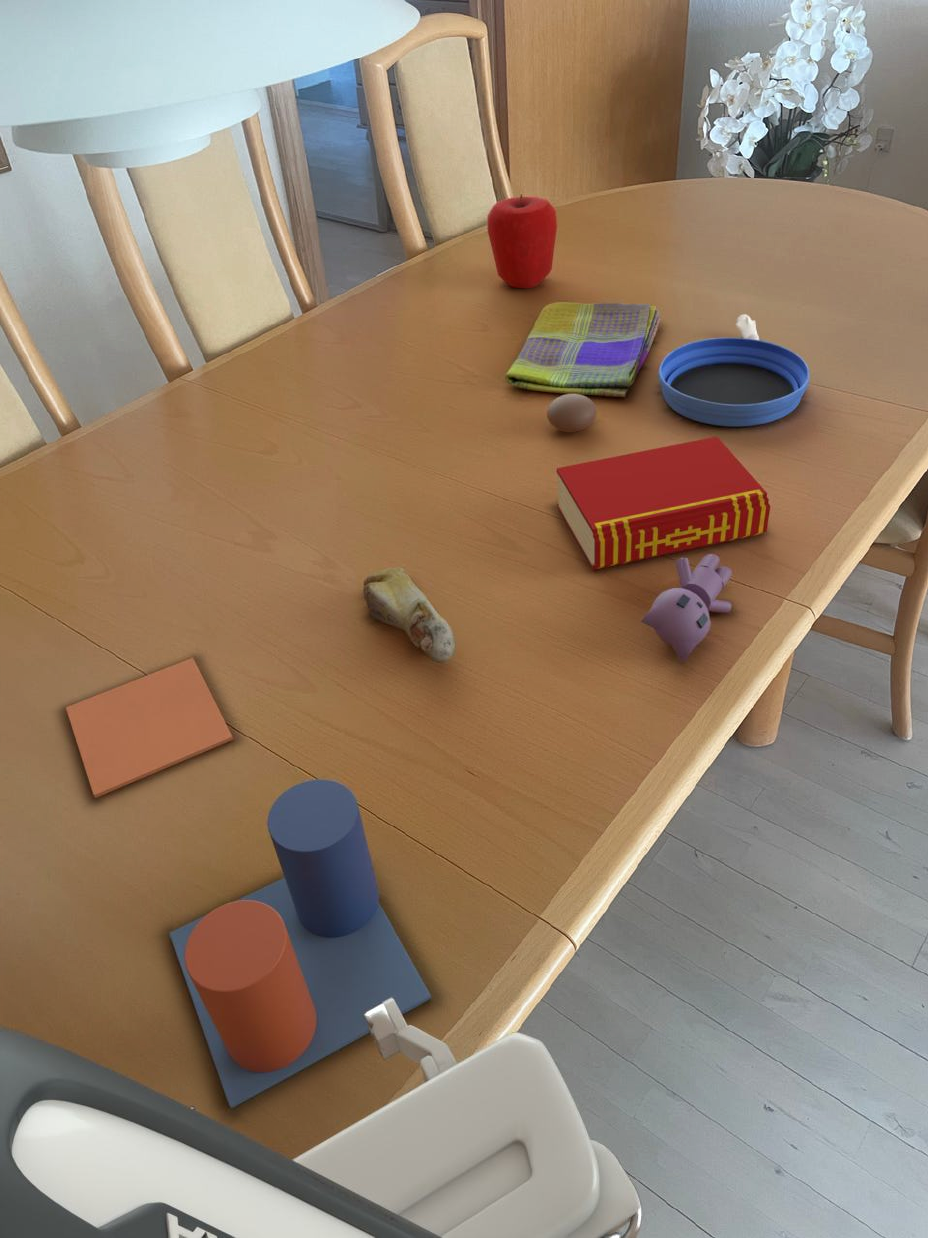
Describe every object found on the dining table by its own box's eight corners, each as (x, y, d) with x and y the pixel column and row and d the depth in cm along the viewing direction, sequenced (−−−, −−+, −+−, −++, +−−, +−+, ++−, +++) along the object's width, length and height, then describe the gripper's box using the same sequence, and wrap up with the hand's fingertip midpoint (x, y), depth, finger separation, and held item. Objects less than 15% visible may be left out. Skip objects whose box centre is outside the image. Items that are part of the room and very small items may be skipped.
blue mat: (231, 1109, 60) (229, 1106, 60) (170, 935, 70) (168, 932, 70) (431, 999, 65) (430, 995, 65) (348, 850, 75) (347, 846, 74)
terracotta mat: (95, 798, 81) (93, 795, 80) (66, 710, 89) (65, 707, 89) (233, 739, 84) (232, 736, 84) (193, 660, 93) (192, 657, 92)
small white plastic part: (729, 349, 132) (731, 327, 130) (736, 330, 136) (738, 308, 134) (756, 351, 131) (759, 329, 129) (763, 332, 135) (765, 310, 133)
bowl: (643, 422, 119) (644, 395, 117) (673, 356, 132) (675, 331, 130) (796, 438, 114) (801, 411, 111) (813, 368, 126) (817, 342, 124)
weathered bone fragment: (343, 584, 96) (401, 655, 84) (385, 547, 96) (448, 614, 84) (373, 616, 99) (433, 689, 87) (413, 580, 99) (478, 649, 87)
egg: (567, 410, 123) (566, 381, 120) (605, 423, 120) (606, 393, 117) (537, 431, 120) (536, 401, 117) (576, 445, 117) (576, 414, 114)
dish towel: (498, 390, 129) (497, 371, 127) (545, 313, 146) (544, 295, 144) (630, 401, 124) (631, 381, 122) (662, 320, 141) (663, 301, 139)
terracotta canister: (242, 1091, 61) (201, 1011, 54) (213, 1012, 65) (172, 929, 58) (330, 1042, 63) (301, 959, 56) (297, 968, 67) (266, 883, 60)
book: (595, 575, 97) (596, 534, 94) (557, 507, 107) (556, 468, 104) (765, 538, 100) (771, 497, 96) (713, 475, 109) (716, 436, 106)
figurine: (706, 530, 91) (651, 603, 84) (757, 582, 91) (707, 659, 84) (670, 557, 95) (615, 628, 88) (719, 607, 96) (669, 682, 88)
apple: (563, 270, 158) (562, 182, 149) (549, 295, 151) (547, 205, 142) (500, 268, 161) (495, 182, 152) (483, 293, 153) (477, 204, 145)
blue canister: (314, 952, 68) (286, 867, 61) (284, 889, 72) (254, 802, 65) (392, 913, 70) (372, 825, 63) (358, 853, 74) (336, 765, 67)
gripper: (670, 1205, 35) (481, 914, 44) (102, 1595, 28) (25, 1157, 38) (662, 1263, 39) (491, 986, 49) (164, 1616, 33) (80, 1216, 42)
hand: (282, 1063), depth 43 cm, fingers open, 8 cm apart
